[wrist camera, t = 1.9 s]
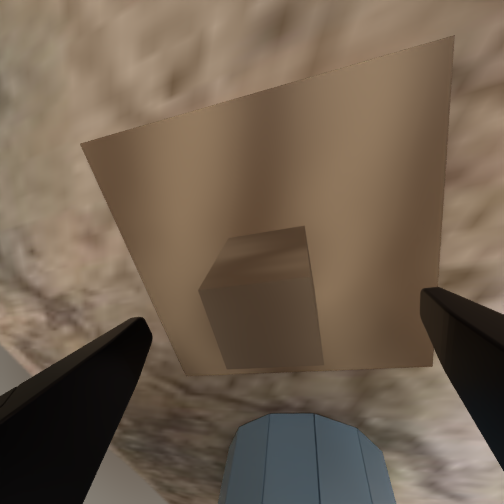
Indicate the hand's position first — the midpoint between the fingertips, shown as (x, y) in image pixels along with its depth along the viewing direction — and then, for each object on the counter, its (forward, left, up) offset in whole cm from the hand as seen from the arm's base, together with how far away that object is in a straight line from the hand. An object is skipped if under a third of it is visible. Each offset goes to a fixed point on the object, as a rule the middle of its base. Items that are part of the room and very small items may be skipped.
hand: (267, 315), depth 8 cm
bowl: (+1, +16, -4) cm, 17 cm away
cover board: (0, 0, -4) cm, 5 cm away
